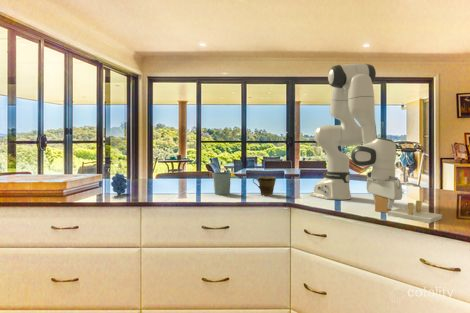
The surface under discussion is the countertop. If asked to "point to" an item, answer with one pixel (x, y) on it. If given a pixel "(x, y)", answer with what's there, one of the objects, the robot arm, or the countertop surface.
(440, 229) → the countertop surface
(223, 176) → the grey green pot
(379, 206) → the orange-brown wooden block
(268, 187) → the ceramic cup
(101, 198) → the countertop surface
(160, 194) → the countertop surface
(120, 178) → the grapes
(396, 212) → the plate
